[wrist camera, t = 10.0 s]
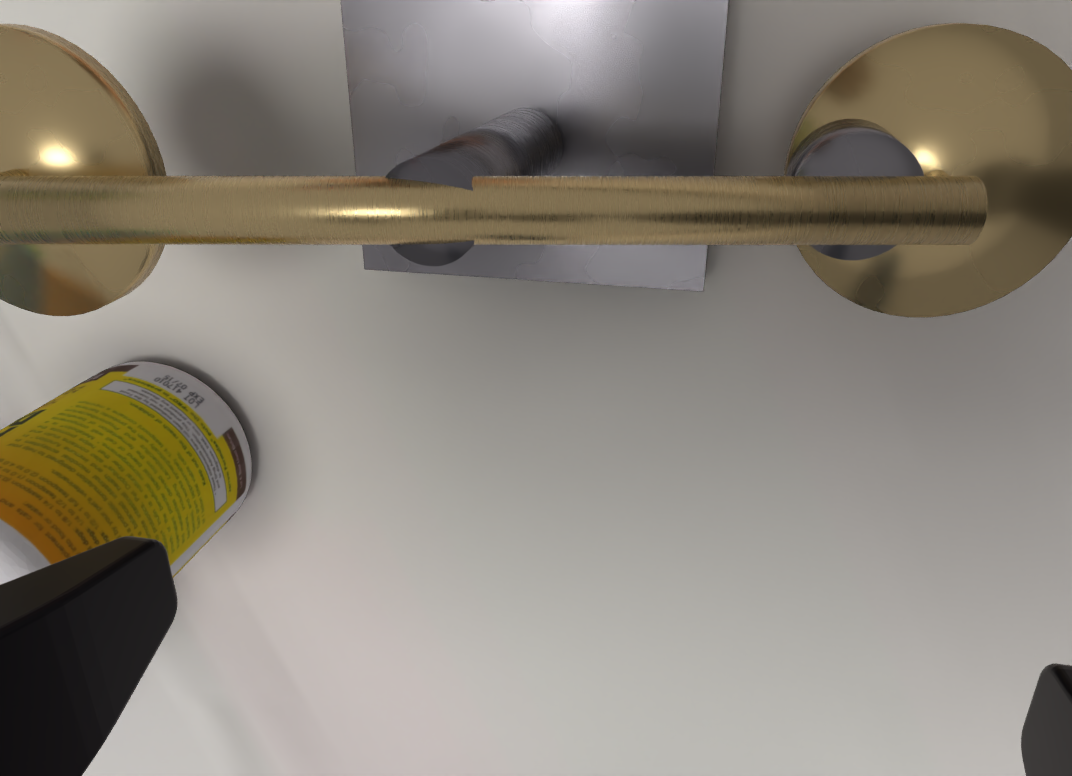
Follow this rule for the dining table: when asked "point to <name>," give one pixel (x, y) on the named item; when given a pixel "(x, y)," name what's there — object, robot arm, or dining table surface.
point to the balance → (566, 160)
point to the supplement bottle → (120, 468)
